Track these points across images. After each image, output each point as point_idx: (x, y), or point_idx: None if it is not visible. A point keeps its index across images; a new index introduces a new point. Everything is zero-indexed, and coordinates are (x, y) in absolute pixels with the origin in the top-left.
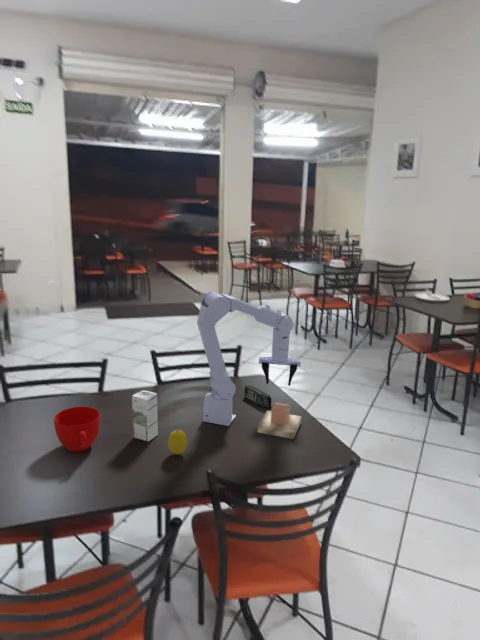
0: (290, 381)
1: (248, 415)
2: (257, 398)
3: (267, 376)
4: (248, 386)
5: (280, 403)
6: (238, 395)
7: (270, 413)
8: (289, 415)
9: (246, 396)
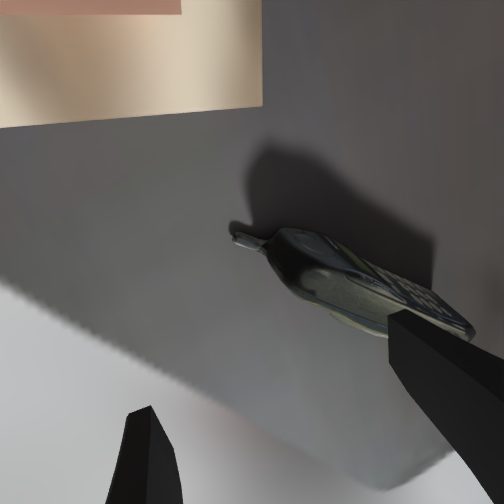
0: (120, 466)
1: (378, 54)
2: (371, 271)
3: (477, 372)
4: None
5: (102, 9)
6: (461, 290)
7: (217, 55)
8: (28, 97)
9: (427, 289)
